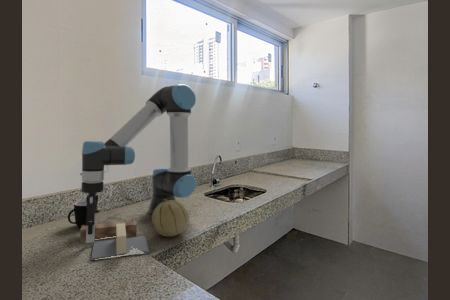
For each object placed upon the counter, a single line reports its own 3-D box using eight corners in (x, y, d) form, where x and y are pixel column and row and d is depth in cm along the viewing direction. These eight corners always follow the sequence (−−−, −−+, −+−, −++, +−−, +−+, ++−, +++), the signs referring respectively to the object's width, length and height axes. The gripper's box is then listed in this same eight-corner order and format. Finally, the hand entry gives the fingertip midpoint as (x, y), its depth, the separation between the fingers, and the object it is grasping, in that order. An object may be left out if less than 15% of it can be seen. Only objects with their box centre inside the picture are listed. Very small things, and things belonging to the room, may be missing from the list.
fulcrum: (144, 238, 105) (145, 220, 104) (149, 253, 92) (149, 233, 91) (94, 244, 98) (94, 225, 97) (91, 261, 85) (91, 240, 84)
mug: (89, 220, 122) (89, 199, 122) (101, 225, 117) (101, 202, 117) (62, 228, 112) (62, 204, 111) (73, 233, 107) (73, 208, 107)
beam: (135, 232, 111) (135, 220, 111) (136, 236, 107) (136, 224, 106) (81, 237, 104) (81, 225, 103) (80, 242, 99) (80, 229, 99)
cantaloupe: (189, 241, 103) (190, 203, 102) (150, 243, 100) (151, 204, 99) (187, 228, 117) (188, 194, 116) (152, 229, 114) (153, 195, 113)
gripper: (84, 176, 112) (83, 225, 113) (77, 188, 89) (76, 249, 90) (104, 176, 115) (103, 224, 116) (102, 187, 92) (100, 247, 93)
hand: (91, 235), depth 103 cm, fingers open, 13 cm apart
